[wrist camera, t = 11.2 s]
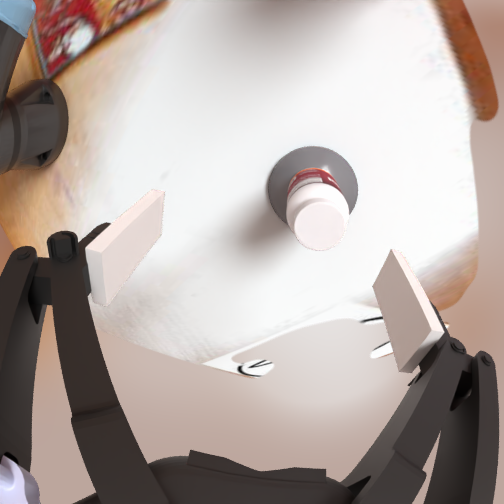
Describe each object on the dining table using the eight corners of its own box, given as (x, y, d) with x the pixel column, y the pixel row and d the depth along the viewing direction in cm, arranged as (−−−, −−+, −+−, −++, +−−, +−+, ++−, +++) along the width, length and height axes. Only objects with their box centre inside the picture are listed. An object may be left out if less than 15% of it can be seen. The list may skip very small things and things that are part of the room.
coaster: (260, 218, 38) (260, 220, 38) (280, 135, 32) (280, 136, 32) (340, 239, 38) (341, 241, 37) (368, 161, 32) (369, 162, 32)
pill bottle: (344, 206, 35) (361, 249, 25) (297, 220, 37) (297, 266, 27) (329, 159, 32) (345, 185, 23) (280, 175, 34) (275, 206, 25)
